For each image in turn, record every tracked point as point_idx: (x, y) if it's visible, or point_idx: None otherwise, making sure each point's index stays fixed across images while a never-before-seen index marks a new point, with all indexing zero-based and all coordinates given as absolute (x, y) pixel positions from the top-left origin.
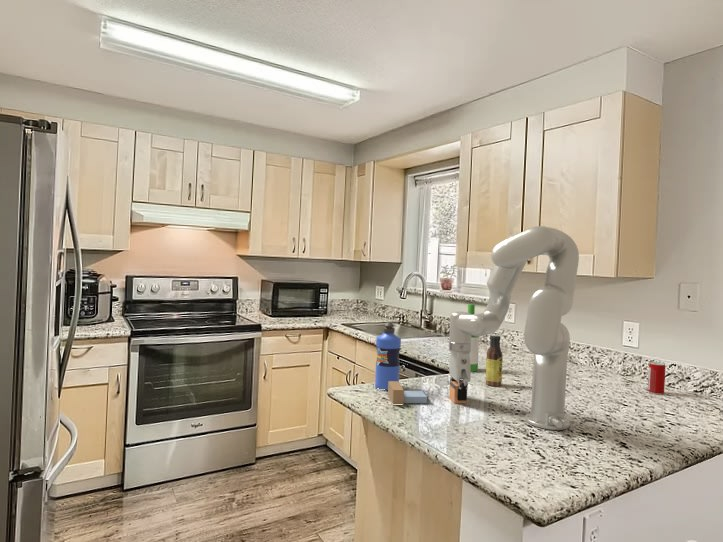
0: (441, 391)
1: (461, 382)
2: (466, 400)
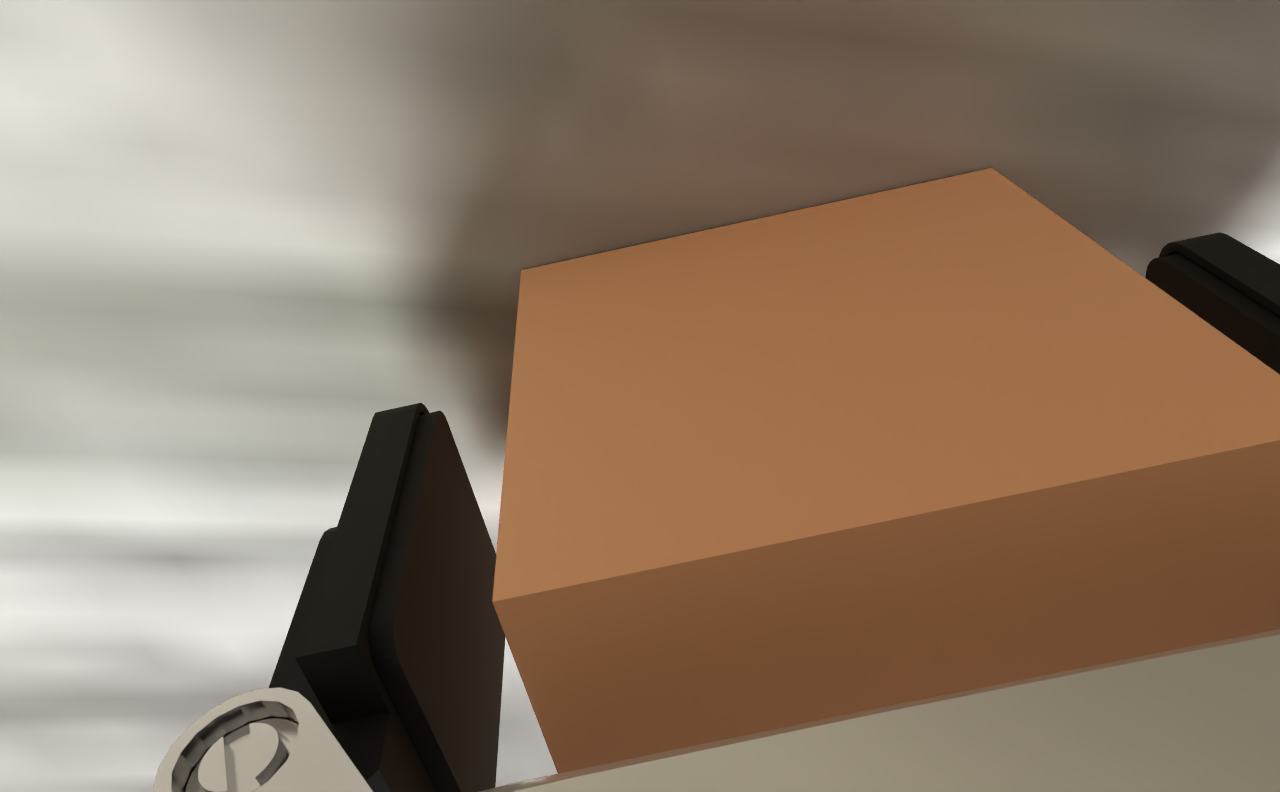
0: (86, 664)
1: (685, 617)
2: (1026, 199)
